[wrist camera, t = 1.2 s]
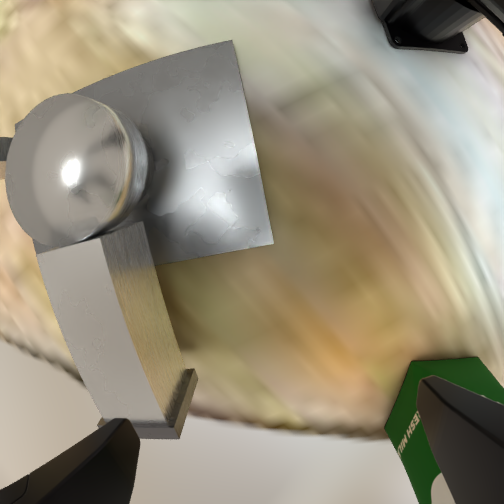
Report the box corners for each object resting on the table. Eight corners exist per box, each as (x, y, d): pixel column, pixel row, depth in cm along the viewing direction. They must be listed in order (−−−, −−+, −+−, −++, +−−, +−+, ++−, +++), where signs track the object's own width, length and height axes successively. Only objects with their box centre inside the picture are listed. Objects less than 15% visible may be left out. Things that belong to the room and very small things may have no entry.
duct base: (233, 46, 16) (219, -10, 9) (273, 240, 18) (278, 272, 12) (20, 126, 17) (-42, 120, 11) (50, 282, 20) (-6, 316, 13)
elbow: (51, 134, 15) (-9, 126, 10) (147, 95, 14) (101, 65, 9) (121, 383, 18) (89, 434, 13) (214, 377, 18) (199, 438, 12)
